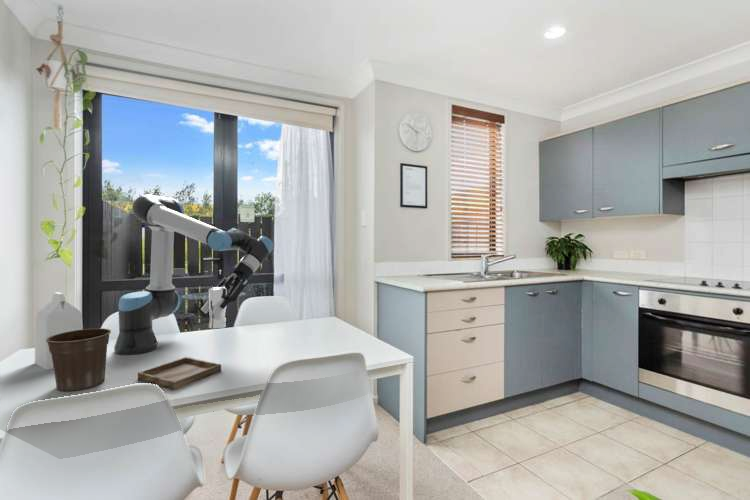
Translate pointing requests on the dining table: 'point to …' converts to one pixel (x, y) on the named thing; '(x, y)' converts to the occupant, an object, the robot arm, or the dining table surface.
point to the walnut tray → (179, 373)
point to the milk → (54, 326)
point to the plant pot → (79, 358)
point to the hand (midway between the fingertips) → (208, 312)
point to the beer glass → (213, 299)
